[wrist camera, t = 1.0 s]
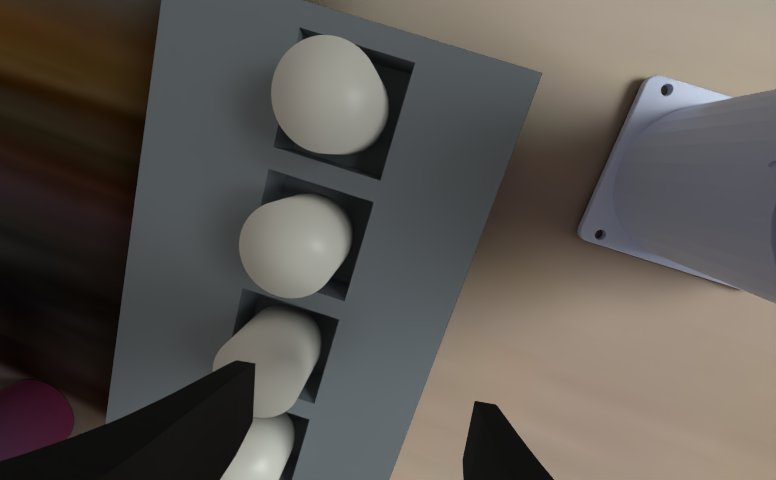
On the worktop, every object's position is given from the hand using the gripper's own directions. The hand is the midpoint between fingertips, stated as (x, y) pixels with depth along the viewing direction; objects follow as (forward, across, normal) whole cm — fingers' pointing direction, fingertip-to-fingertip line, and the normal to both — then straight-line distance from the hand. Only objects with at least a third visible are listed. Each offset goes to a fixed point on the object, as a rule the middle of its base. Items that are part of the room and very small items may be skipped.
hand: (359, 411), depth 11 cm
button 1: (+8, +3, -9) cm, 12 cm away
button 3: (+8, +5, +3) cm, 10 cm away
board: (+10, +5, 0) cm, 11 cm away
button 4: (+8, +6, +9) cm, 13 cm away
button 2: (+8, +4, -3) cm, 9 cm away
